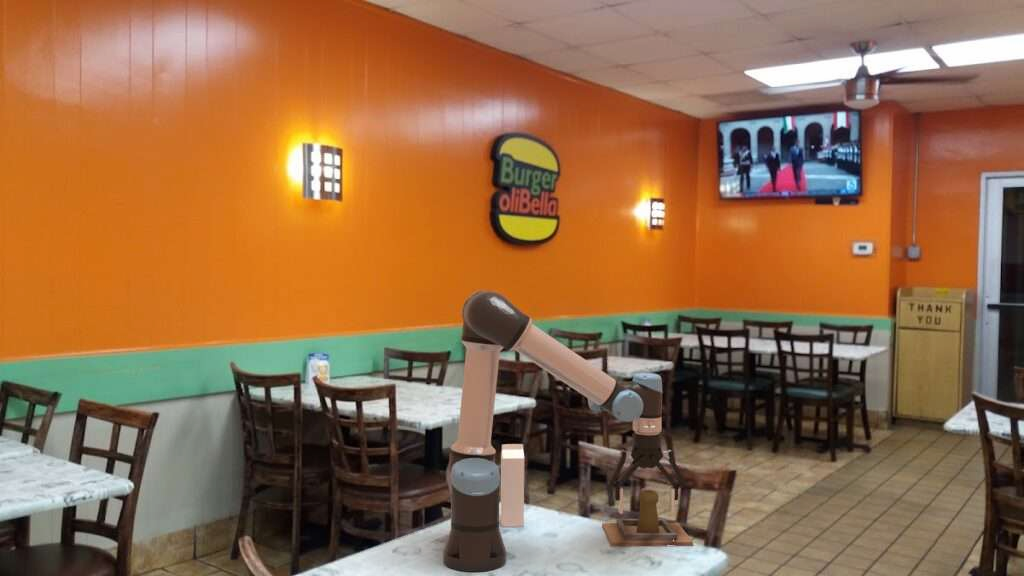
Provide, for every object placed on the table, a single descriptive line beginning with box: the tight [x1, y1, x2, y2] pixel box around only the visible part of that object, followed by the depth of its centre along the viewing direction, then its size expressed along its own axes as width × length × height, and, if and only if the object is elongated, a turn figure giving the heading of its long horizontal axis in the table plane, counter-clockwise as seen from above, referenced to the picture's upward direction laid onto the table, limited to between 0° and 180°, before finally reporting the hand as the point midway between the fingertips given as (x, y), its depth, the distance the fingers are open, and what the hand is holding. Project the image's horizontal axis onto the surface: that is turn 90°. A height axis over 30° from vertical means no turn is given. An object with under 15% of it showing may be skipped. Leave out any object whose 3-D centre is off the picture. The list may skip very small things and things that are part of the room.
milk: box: [500, 443, 525, 528], centre depth 226 cm, size 6×6×22 cm
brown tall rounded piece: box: [637, 489, 659, 533], centre depth 216 cm, size 6×6×11 cm
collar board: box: [601, 518, 694, 547], centre depth 217 cm, size 21×16×2 cm
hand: (646, 512), depth 217 cm, fingers open, 13 cm apart
